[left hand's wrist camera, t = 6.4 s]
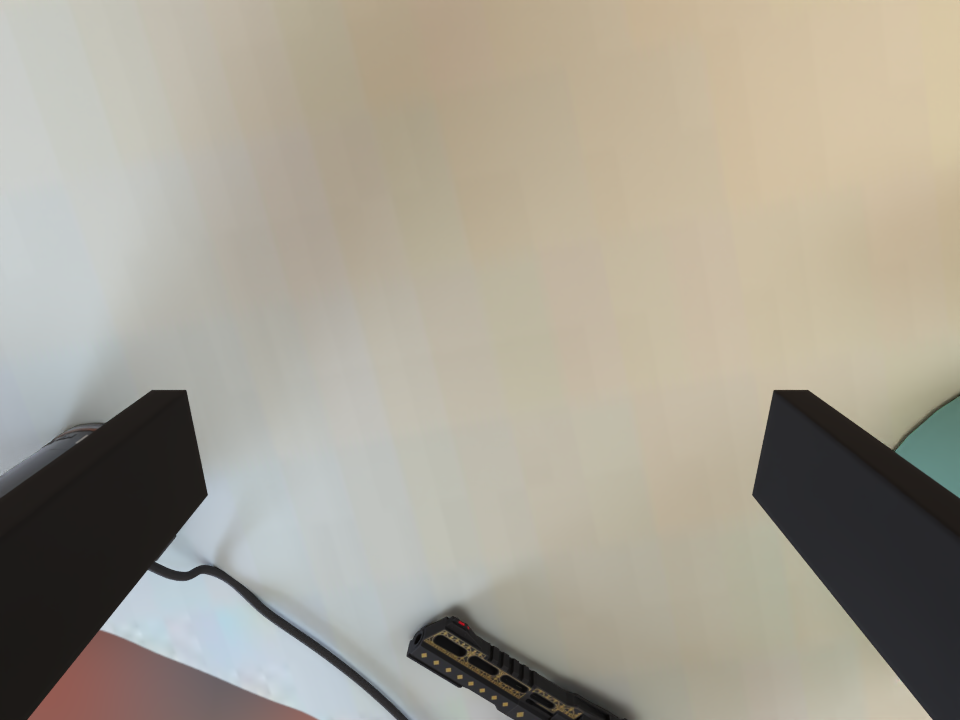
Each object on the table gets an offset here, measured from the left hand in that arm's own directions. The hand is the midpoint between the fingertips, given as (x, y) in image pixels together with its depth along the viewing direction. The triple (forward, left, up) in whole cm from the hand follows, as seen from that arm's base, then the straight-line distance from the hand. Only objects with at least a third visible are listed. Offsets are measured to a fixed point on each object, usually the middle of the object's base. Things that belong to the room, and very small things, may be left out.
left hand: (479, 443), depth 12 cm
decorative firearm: (+46, +4, -28) cm, 54 cm away
